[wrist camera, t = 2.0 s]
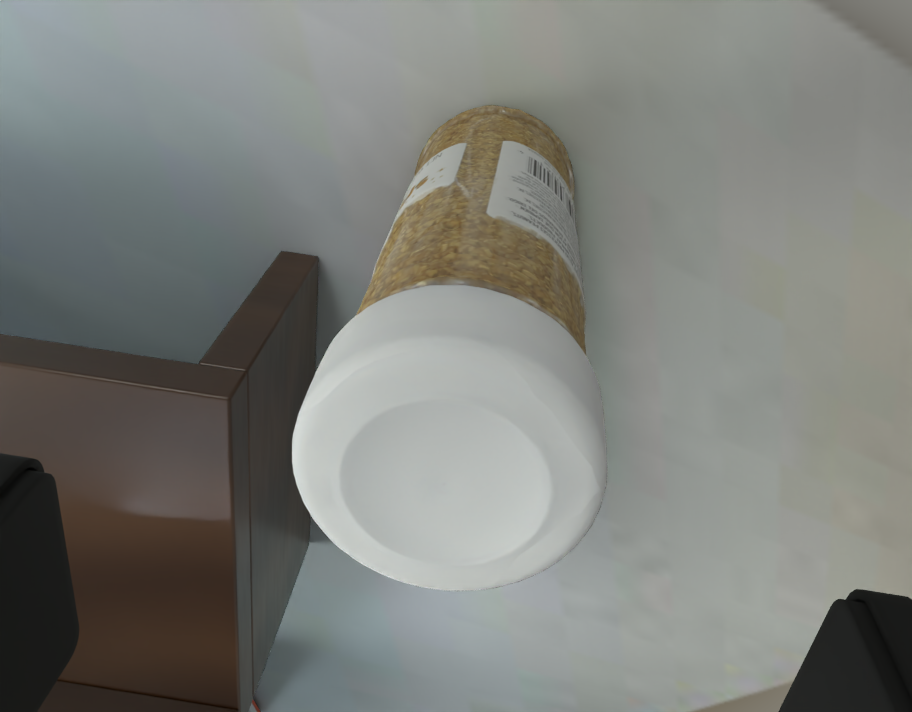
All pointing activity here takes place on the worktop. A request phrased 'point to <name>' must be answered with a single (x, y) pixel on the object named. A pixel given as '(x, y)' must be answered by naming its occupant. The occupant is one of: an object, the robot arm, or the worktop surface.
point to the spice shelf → (173, 499)
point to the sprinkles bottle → (463, 374)
